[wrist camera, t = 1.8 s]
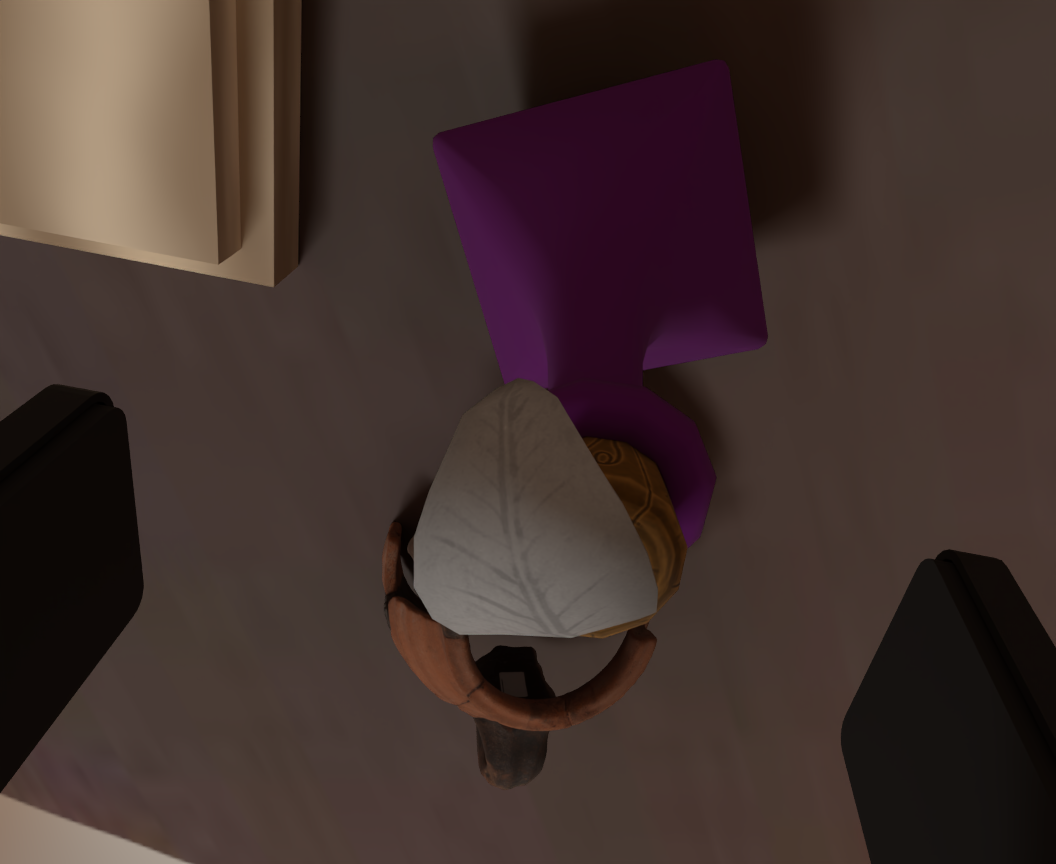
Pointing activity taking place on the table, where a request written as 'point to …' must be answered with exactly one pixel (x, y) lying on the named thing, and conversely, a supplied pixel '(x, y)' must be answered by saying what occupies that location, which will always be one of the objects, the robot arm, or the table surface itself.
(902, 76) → the table surface
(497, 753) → the pottery mug
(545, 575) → the perfume bottle
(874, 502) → the table surface
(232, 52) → the plinth
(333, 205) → the table surface
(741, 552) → the table surface
